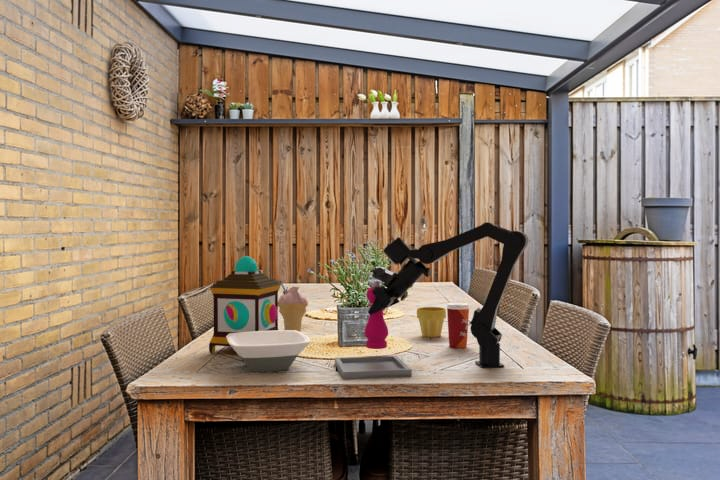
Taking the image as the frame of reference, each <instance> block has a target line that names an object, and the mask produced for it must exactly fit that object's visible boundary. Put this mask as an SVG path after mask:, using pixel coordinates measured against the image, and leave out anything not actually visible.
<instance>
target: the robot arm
mask: <svg viewBox="0 0 720 480" xmlns="http://www.w3.org/2000/svg"><path fill="white" fill-rule="evenodd" d="M485 238H490V239H492V240H494V241H496V242H499V243H501V244H503V245H502V253H501V260H500V263H499V265H498V268H497V271H496V272H495V276H494V279H493V281H492V283H491V286H490V288H489V292H488V294H487V297H486V299H485V302H484V305H483V306H482V308H479V307H477V308H476V309H475V310H474V311H473V315H472V316H473V317H472V319H471V320H470V321H469V322H468V325H470V333H471V335H472V336H473V337H474V338H475V339H476V341H477V344H478V347H479V348H478V349H479V350H478V351H479V352H478V354H479V355H478V357H479V358H478V359H479V360H475V361H474V363H475V364H476V365H478V366H479V367H480V368H503V367H505V364H503V363H502V362H501V344H500V341H501V340H502V338H503V334H502V333H501V332H500V331H499V330H498V328H496V322H497V316H498V309H499V307H500V304H501V300H502V298H503V296H504V293H505V291H506V288H507V286H508V283H509V281H510V278H511V276H512V273H513V271H514V269H515V265H516V264H517V263H518V260H519V259H520V258H521V256H522V255H523V253H524V252H525V250H526V248H527V247H528V245H529V237H528V235H527V233H525V232H524V231H522V230H513V231H512V230H509V229H506V228H505V227H502V226H498V225H496V224H495V223H493V222H489V221H488V222H484V223H482V224H481V225H478V226H476V227H474V228H471V229H469V230H466V231H464V232H462V233H461V232H460V233H459V234H456V235H455V236H452V237H449V238H447V239H444V240H439V241H434V242H429V243H424V244H423V245H420V247H418V248H411V247H410V246H409V245H408V244H407V243H406V242H405V241H404V239H403V238H402V237H401V236H398V237H397V238H396V239H395V240H394V239H393V241H392V242H391V243H389V244H387V245H386V247H385V248H384V249H383V251H382V252H383V254H384V255H385V256H386V257H387V258H388V259H389V260H390V261H391V263H393V264H394V265H395V266H398V265H400V266H402V267H401V269H400V270H398V271H395V272H393V271H390V270H388V269H387V268H385V267H382V265H381V266H375V268H374V269H373V270H372V275H371V277H372V278H374V279H377V280H378V281H380V282H382V283H383V284H382V285H379V286H377V287H375V288H374V289H373V290H372V293H373V294H374V295H375V300H374V302H373V304H372V306H371V308H369V309H368V311H367V313H368V315H369V316H370V315H371V314H373V313H376V312H378V311H380V310H382V309H383V310H385V309H387V308H389V307H392V306H393V305H396V304H399V303H401V302H402V301H404V300H406V298H407V297H408V295H409V294H408V293H409V292H408V290H409V289H412V288H413V287H414V284H415V283H416V282H418V280H419V279H421V277H422V276H423V275H424V276H425V277H426V278H429V277H431V276H432V272H431V271H432V267H427V266H426V265H429V264H435V263H437V262H438V261H440V260H442V259H443V258H445V257H447V256H448V255H449V254H451V253H452V252H454V251H456V250H459V249H461V248H464V247H466V246H469V245H471V244H473V243H475V242H478V241H481V240H483V239H485ZM418 260H419V261H418ZM399 299H400V300H399ZM400 301H401V302H400Z"/></svg>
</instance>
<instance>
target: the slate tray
mask: <svg viewBox="0 0 720 480" xmlns="http://www.w3.org/2000/svg"><path fill="white" fill-rule="evenodd" d="M334 365H335V367H336V369H337V370H338V372H339V373H340V375H341V377H342V379H343V380H352V379H376V378H377V379H378V378H399V377H400V378H406V377H412V374H413V373H412V371H413V370H412V368H410V366H408V365H407V364H406V362H404V361H403V360H402V359H401V358H399V357H398V355H374V356H372V355H371V356H343V357H341V356H340V357H334Z"/></svg>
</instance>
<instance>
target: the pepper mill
mask: <svg viewBox="0 0 720 480" xmlns="http://www.w3.org/2000/svg"><path fill="white" fill-rule="evenodd" d="M372 285H373V286H371V287H369V288H368V289H367V291H366V299H367V300H368V302H367V304H368V305H367V307H368V308H369V309H370V308H371V306H372V304H373V302H374V300H375V295H374V294H373V293H372V290H373V289H374V288H375V287H377V286H380V282H379V280H378V281H377V280H375V281H374V282H373V283H372ZM364 336H365V337H366V339H367V340H366V341H365V347H366V348H367V349H371V350H383V349H386V348H387V347H388V346H387V345H388V341H387V340H386V339H387V338H388V336H389V329H388V325H387V323H386V321H385V319H384V309H382V310H380V311H378V312H376V313H373V314H371V315H370V314H369V317H368V320H367V323H366V325H365V328H364Z"/></svg>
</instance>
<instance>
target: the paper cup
mask: <svg viewBox="0 0 720 480" xmlns="http://www.w3.org/2000/svg"><path fill="white" fill-rule="evenodd" d="M446 305H447V306H445V309H446V316H447V330H448V331H447V332H448V347H450V348H452V349H465V348H467V346H468V345H467V344H468V331H469V318H470V317H469V316H470V315H469V313H470V309H471V307H470V305H469V303H465V302H447V304H446Z"/></svg>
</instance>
